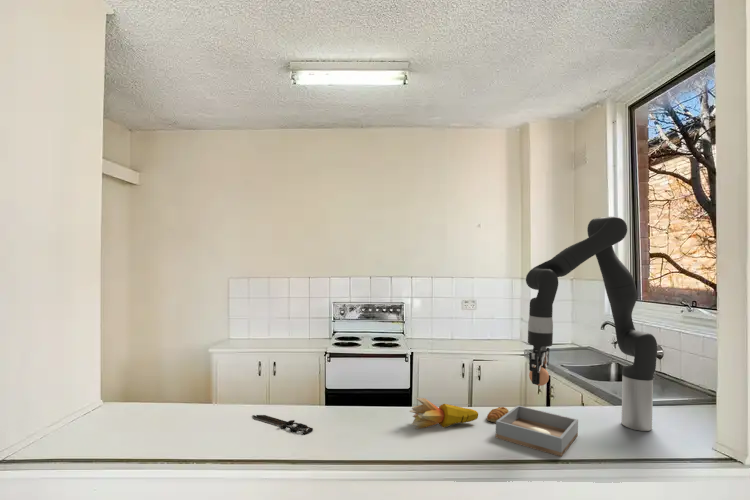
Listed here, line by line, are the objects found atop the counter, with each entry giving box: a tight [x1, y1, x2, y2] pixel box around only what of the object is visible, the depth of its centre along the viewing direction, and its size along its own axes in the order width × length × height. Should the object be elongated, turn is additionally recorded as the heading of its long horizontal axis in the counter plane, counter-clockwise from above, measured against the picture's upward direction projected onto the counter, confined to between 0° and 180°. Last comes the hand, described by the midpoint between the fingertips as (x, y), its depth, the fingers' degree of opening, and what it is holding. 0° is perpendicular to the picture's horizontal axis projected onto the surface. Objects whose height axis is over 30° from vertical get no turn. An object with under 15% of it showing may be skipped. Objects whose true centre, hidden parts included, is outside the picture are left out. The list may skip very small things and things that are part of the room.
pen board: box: [495, 418, 579, 457], centre depth 140 cm, size 20×20×1 cm
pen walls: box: [495, 404, 579, 453], centre depth 140 cm, size 20×20×4 cm
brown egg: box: [528, 366, 550, 387], centre depth 141 cm, size 6×6×6 cm
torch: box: [408, 397, 479, 430], centre depth 148 cm, size 8×8×25 cm
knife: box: [251, 414, 314, 436], centre depth 145 cm, size 25×6×1 cm, turn 54°
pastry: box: [486, 406, 510, 424], centre depth 155 cm, size 9×7×4 cm
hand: (538, 381), depth 141 cm, fingers closed on brown egg, 6 cm apart
